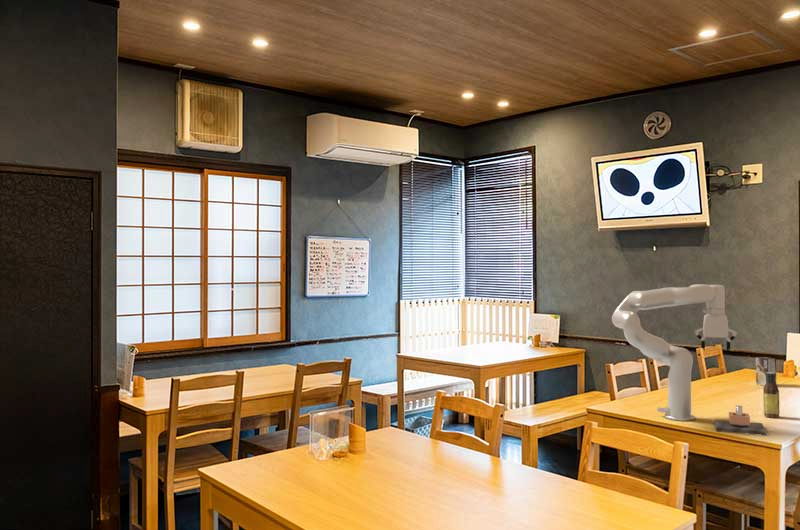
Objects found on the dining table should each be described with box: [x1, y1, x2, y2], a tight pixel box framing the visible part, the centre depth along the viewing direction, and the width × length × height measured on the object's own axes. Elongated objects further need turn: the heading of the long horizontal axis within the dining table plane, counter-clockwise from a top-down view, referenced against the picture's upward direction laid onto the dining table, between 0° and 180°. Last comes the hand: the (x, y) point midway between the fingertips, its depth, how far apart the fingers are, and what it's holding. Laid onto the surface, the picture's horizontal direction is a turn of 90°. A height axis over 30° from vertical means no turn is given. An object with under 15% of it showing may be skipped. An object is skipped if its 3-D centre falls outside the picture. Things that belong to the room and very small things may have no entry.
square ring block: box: [728, 411, 751, 425], centre depth 273 cm, size 7×7×4 cm
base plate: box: [714, 419, 767, 436], centre depth 273 cm, size 18×16×2 cm
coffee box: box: [755, 356, 777, 386], centre depth 380 cm, size 9×6×16 cm
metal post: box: [731, 405, 747, 427], centre depth 273 cm, size 6×6×8 cm
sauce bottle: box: [762, 372, 780, 419], centre depth 296 cm, size 7×6×20 cm
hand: (715, 350), depth 295 cm, fingers open, 9 cm apart
